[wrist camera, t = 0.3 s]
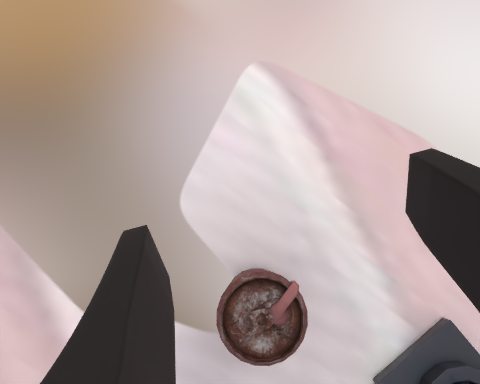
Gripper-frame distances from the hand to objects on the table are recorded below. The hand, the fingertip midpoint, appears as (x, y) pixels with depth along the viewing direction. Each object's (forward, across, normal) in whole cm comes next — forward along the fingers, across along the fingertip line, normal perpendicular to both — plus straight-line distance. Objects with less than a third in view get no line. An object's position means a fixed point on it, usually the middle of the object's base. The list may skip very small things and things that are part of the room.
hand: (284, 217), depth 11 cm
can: (+18, +1, +26) cm, 31 cm away
